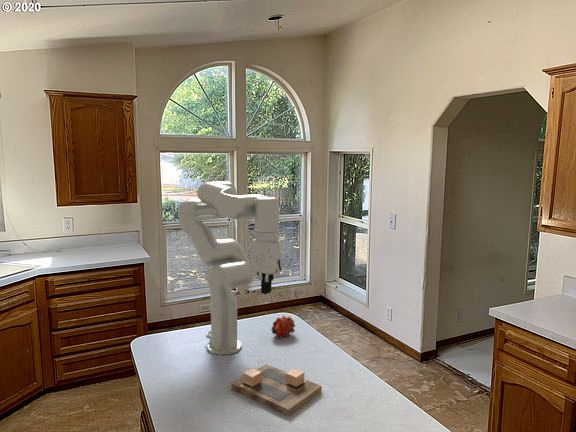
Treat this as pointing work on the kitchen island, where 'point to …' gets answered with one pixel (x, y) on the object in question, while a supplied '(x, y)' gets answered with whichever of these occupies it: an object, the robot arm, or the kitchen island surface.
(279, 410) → the switch board
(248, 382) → the tab
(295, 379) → the tab
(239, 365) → the kitchen island surface
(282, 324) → the dragon fruit
